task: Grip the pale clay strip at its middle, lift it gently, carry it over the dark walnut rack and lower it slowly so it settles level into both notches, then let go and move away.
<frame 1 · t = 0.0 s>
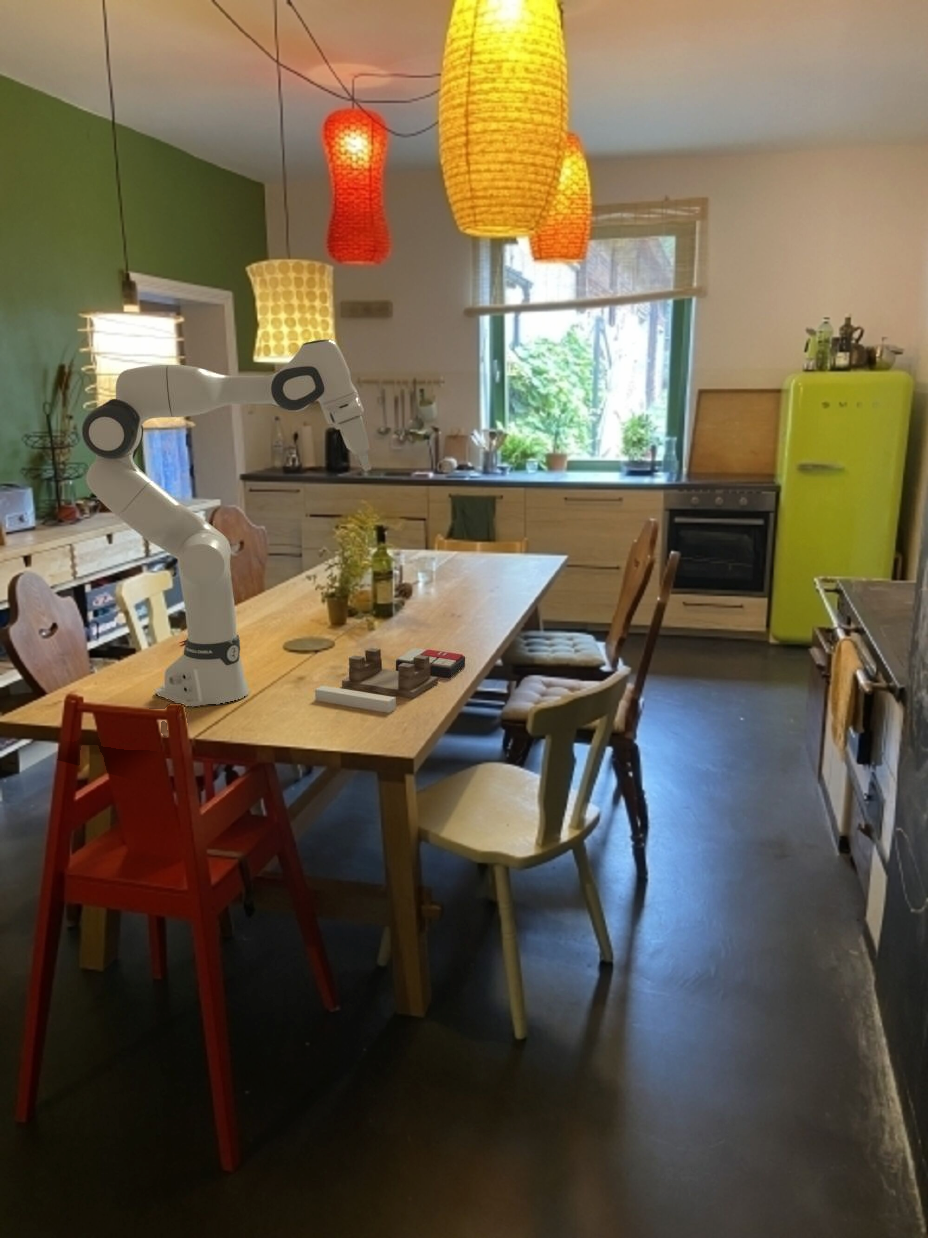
hand: (365, 468, 203), 52 cm above the table, tool tilted 20°, fingers open, 8 cm apart
clay strip: (355, 705, 202), on the table
rack: (390, 684, 215), on the table
calculator: (430, 671, 226), on the table
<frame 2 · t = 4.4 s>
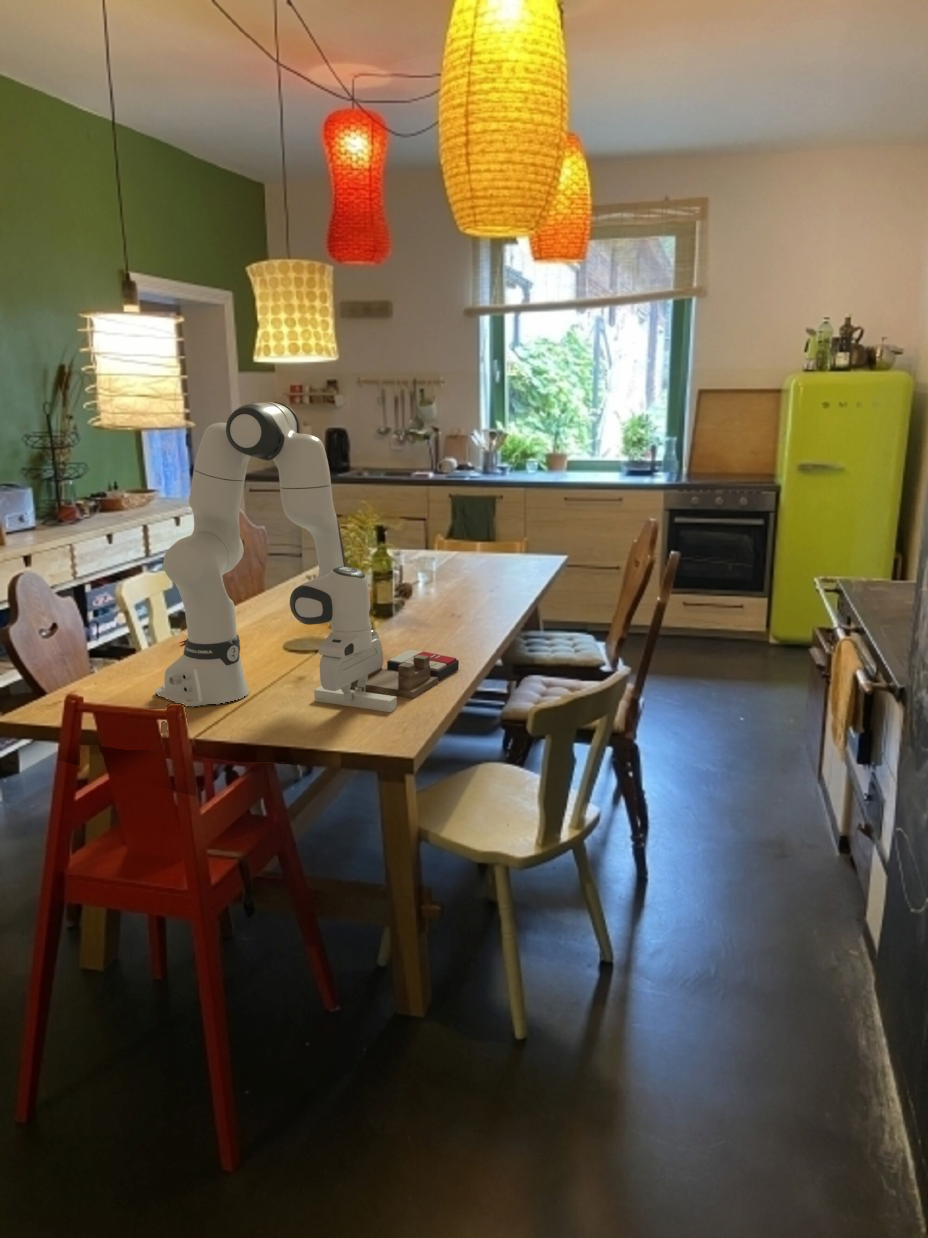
hand: (354, 697, 201), 2 cm above the table, tool pointing down, fingers closed on clay strip, 3 cm apart
clay strip: (355, 705, 202), on the table, touching gripper
calculator: (423, 673, 224), on the table
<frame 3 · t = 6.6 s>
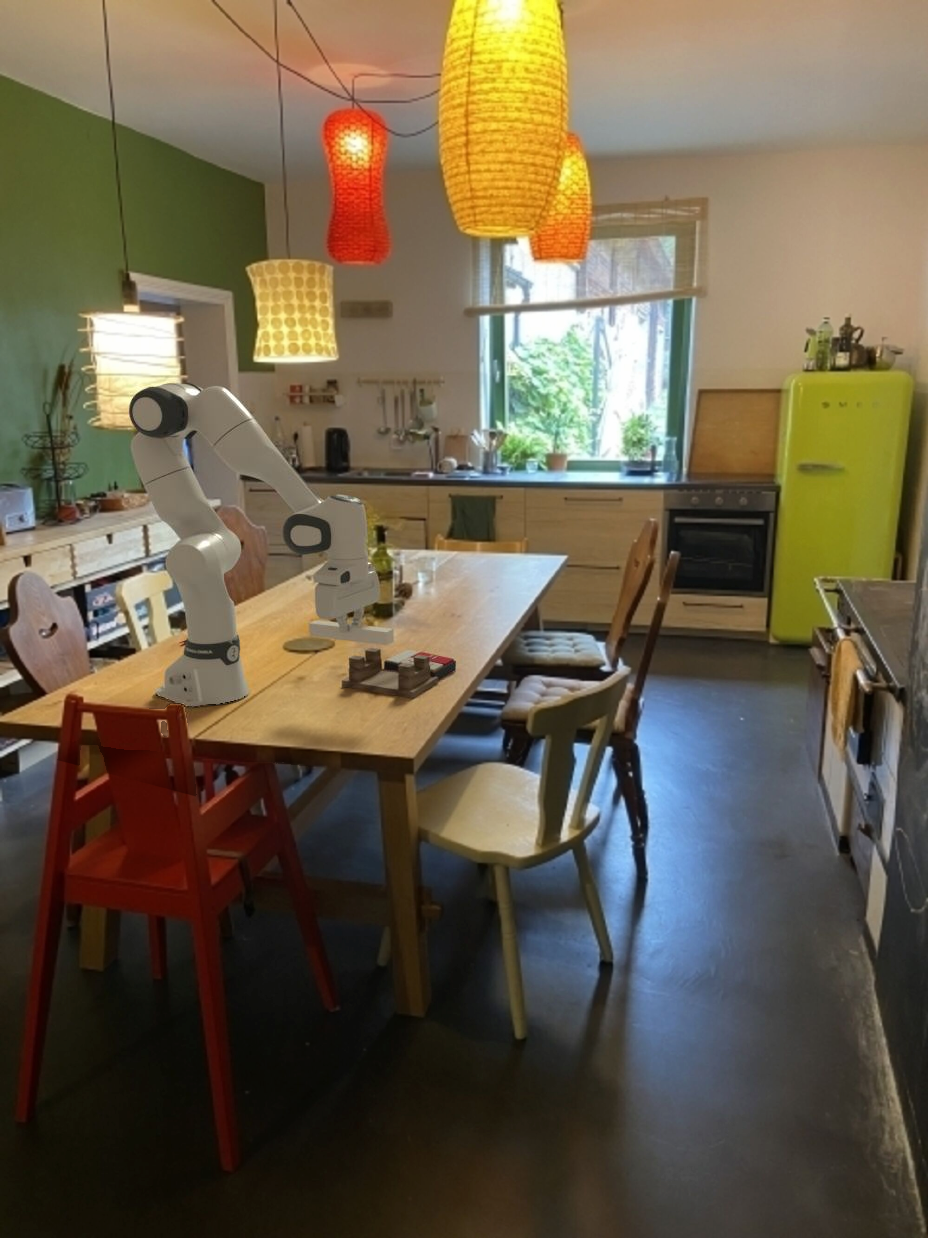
hand: (350, 629, 197), 18 cm above the table, tool pointing down, fingers closed on clay strip, 3 cm apart
clay strip: (351, 638, 198), point 16 cm above the table, touching gripper
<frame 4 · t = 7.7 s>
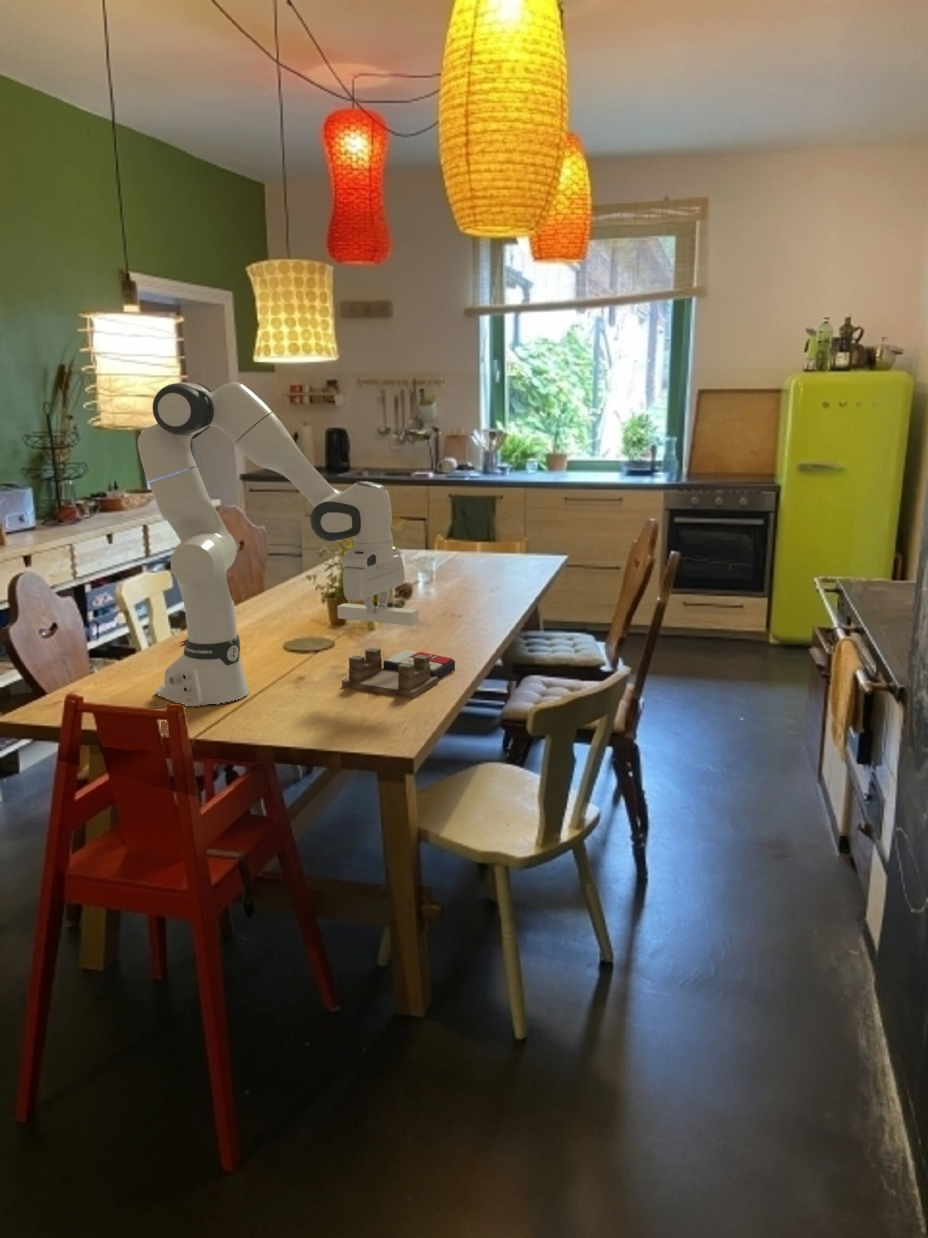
hand: (377, 611, 205), 20 cm above the table, tool pointing down, fingers closed on clay strip, 3 cm apart
clay strip: (377, 620, 206), point 17 cm above the table, touching gripper
everything else where it was.
when the fingers open (7 cm above the table, at t = 10.2 s): clay strip stays where it is, resting on rack.
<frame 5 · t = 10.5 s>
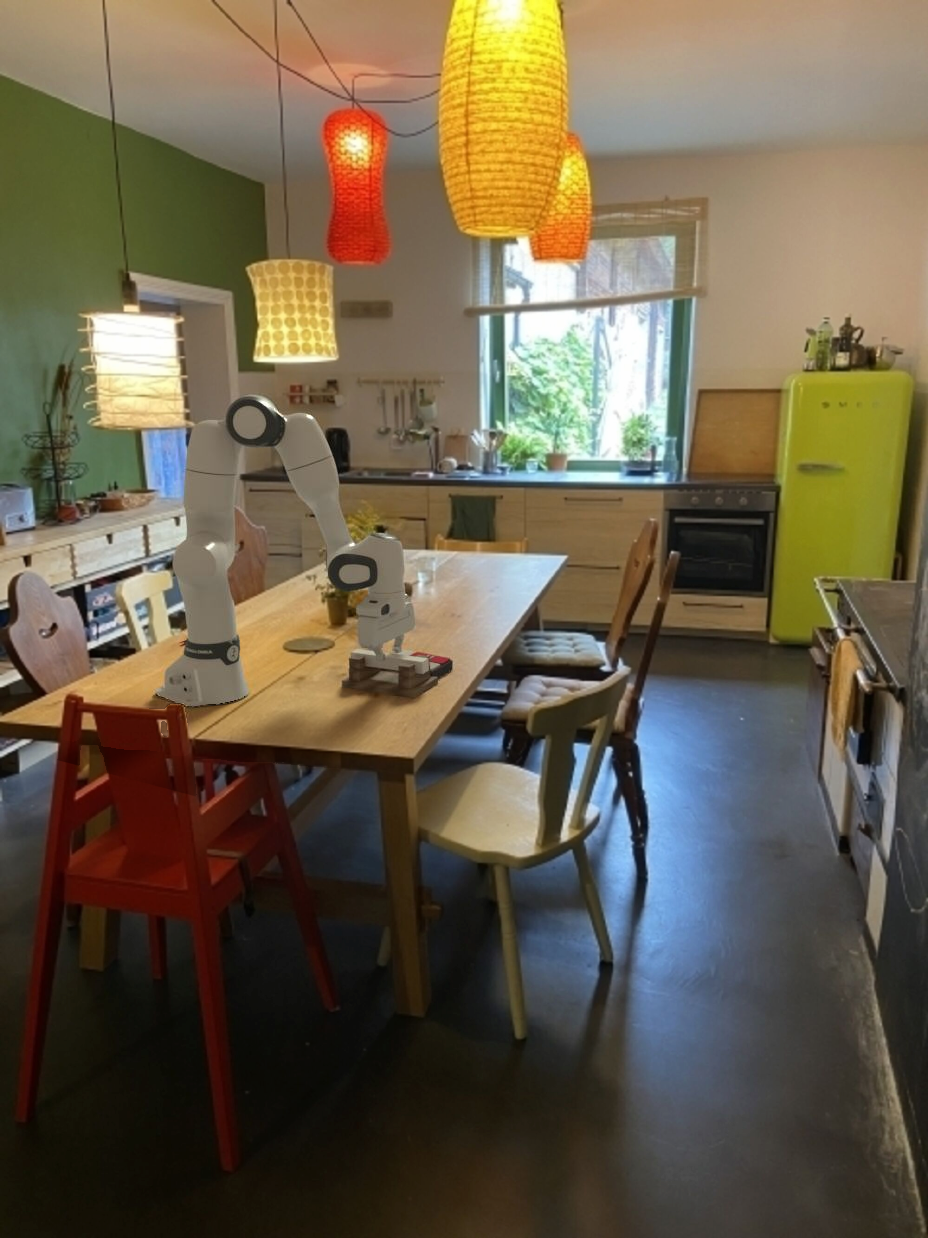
hand: (389, 656, 213), 7 cm above the table, tool pointing down, fingers open, 6 cm apart
clay strip: (389, 667, 214), point 4 cm above the table, touching rack
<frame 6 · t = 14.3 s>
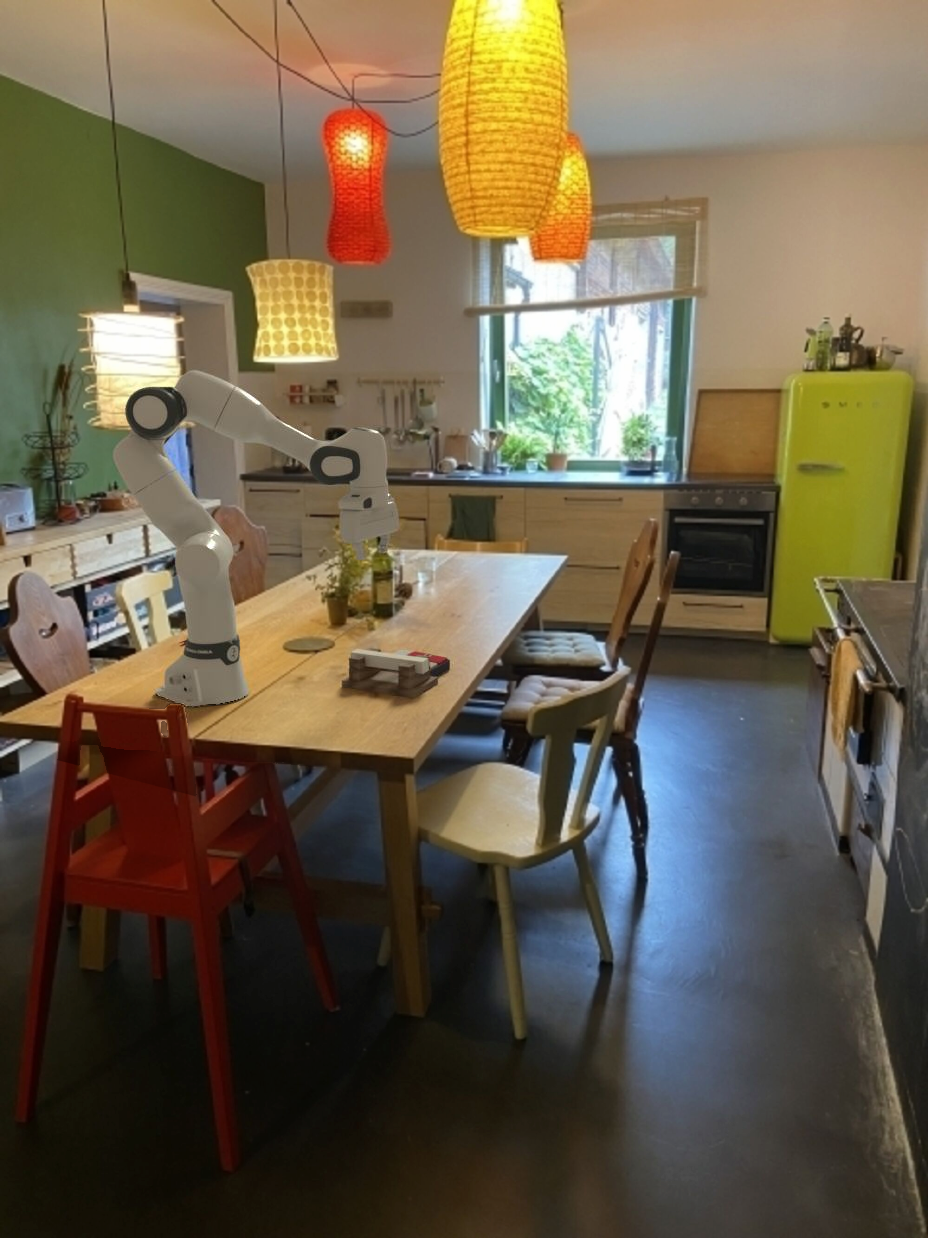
hand: (372, 555, 211), 31 cm above the table, tool pointing down, fingers open, 8 cm apart
at the end: clay strip 0.1 cm off-centre on the rack, point 4.5 cm above the rack's base; clay strip tilted 0°; the gripper is holding nothing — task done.
